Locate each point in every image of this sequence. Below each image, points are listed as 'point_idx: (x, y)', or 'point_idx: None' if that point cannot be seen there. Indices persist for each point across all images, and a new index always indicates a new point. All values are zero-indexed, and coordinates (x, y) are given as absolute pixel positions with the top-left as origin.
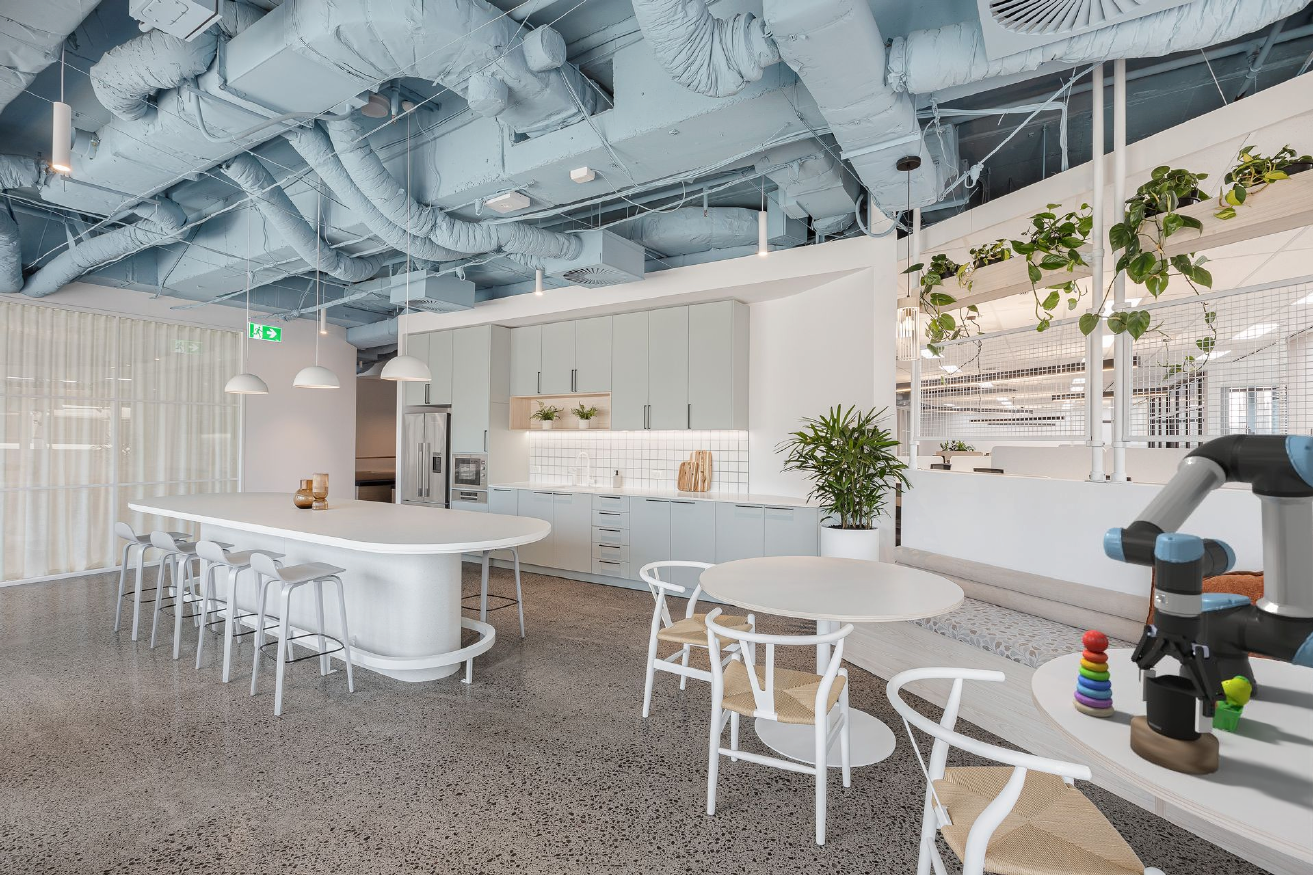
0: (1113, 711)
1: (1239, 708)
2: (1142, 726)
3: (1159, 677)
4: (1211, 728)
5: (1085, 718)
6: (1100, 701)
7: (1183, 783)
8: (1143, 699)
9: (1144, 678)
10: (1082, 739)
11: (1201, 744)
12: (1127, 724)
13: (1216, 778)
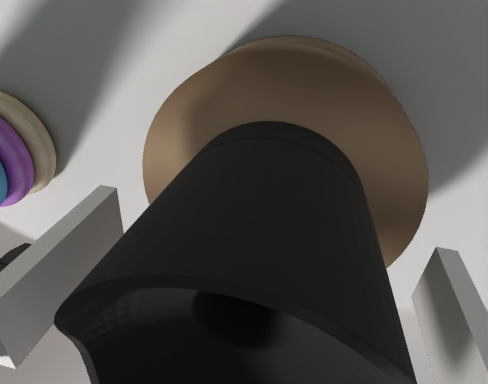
0: (29, 118)
1: None
2: None
3: (82, 338)
4: (461, 266)
5: (70, 198)
6: (17, 180)
7: (412, 262)
8: (119, 238)
9: (50, 319)
10: None
11: (389, 202)
12: (90, 115)
13: (433, 158)
